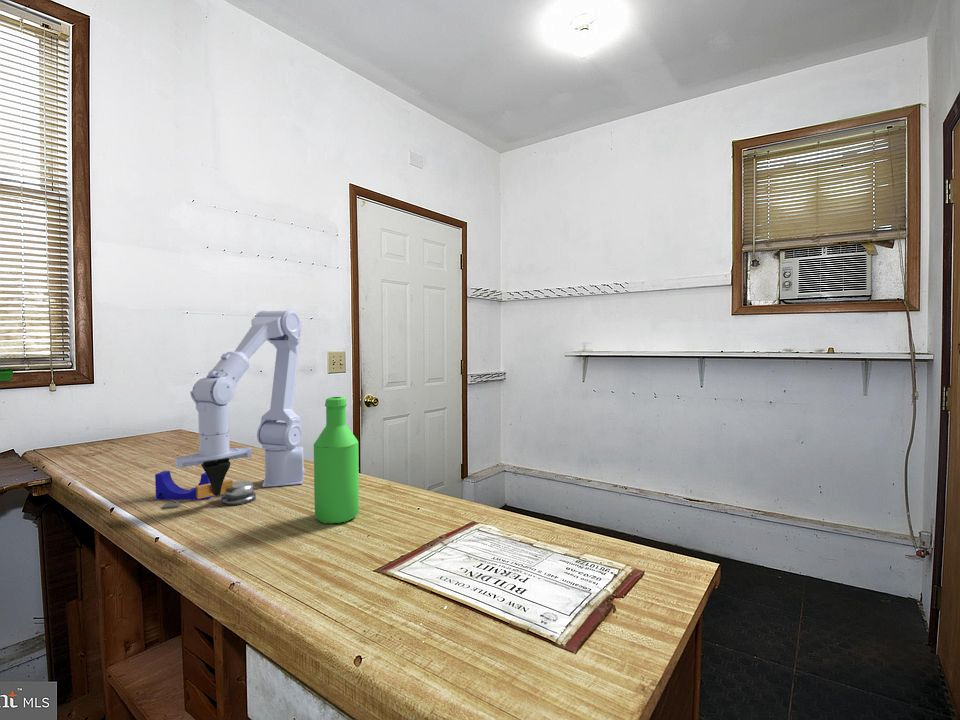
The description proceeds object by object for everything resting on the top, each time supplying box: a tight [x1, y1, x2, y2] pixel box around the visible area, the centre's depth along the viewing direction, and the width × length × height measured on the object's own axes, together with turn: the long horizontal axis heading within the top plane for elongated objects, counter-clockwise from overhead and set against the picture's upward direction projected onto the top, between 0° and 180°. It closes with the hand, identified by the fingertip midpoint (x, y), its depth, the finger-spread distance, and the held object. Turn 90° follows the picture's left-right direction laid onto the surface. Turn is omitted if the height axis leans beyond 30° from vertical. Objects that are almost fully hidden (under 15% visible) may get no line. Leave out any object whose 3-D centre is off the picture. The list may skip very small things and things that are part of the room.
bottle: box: [313, 396, 360, 524], centre depth 99 cm, size 9×9×25 cm
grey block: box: [161, 502, 181, 510], centre depth 106 cm, size 3×2×1 cm, turn 109°
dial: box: [195, 478, 254, 500], centre depth 108 cm, size 12×6×4 cm, turn 134°
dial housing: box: [221, 491, 257, 507], centre depth 110 cm, size 7×7×1 cm
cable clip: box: [154, 470, 214, 501], centre depth 113 cm, size 12×4×6 cm, turn 91°
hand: (216, 494), depth 105 cm, fingers closed, pressing on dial
